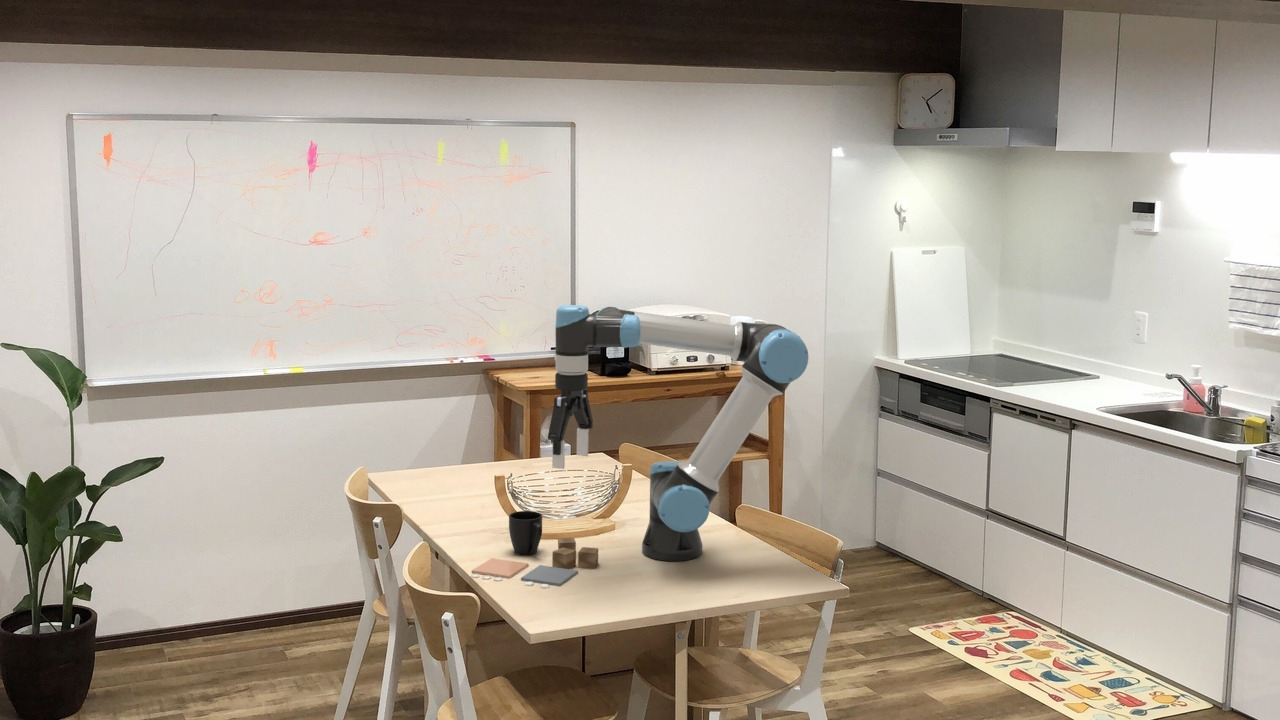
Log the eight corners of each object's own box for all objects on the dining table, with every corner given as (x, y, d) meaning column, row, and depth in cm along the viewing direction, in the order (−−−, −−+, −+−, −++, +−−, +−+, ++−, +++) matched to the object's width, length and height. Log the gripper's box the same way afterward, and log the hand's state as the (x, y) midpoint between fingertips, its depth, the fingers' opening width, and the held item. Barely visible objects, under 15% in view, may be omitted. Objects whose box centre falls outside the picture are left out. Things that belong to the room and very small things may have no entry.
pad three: (528, 565, 296) (528, 563, 296) (503, 582, 284) (503, 579, 284) (491, 560, 300) (491, 558, 300) (465, 576, 288) (465, 573, 288)
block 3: (598, 564, 299) (598, 548, 298) (594, 569, 295) (594, 553, 294) (582, 562, 299) (582, 547, 299) (578, 568, 296) (578, 551, 295)
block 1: (574, 553, 307) (574, 537, 306) (575, 558, 303) (575, 542, 302) (558, 553, 306) (558, 538, 306) (559, 558, 302) (559, 543, 302)
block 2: (575, 566, 297) (576, 550, 296) (565, 570, 293) (565, 554, 293) (563, 563, 299) (563, 547, 298) (552, 567, 296) (552, 551, 295)
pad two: (577, 572, 292) (578, 570, 291) (554, 589, 280) (554, 587, 280) (539, 567, 295) (539, 565, 295) (515, 583, 283) (515, 581, 283)
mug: (523, 563, 298) (523, 525, 296) (503, 550, 308) (503, 513, 307) (554, 558, 302) (554, 521, 300) (533, 545, 312) (533, 509, 311)
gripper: (578, 363, 298) (577, 449, 301) (533, 379, 275) (532, 471, 278) (607, 365, 295) (606, 452, 298) (563, 381, 272) (562, 475, 275)
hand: (570, 461), depth 288 cm, fingers open, 13 cm apart
